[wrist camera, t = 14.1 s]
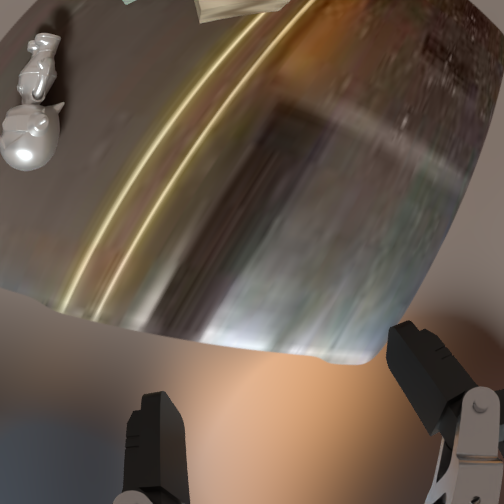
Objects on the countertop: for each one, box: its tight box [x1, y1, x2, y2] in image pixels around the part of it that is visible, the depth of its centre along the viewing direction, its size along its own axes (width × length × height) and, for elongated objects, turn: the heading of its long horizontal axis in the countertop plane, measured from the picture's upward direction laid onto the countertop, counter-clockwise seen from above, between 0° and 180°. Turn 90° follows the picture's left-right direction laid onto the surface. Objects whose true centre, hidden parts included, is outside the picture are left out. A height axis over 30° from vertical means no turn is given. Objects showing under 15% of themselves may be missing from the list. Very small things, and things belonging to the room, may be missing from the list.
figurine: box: [0, 33, 65, 171], centre depth 26 cm, size 11×7×15 cm
